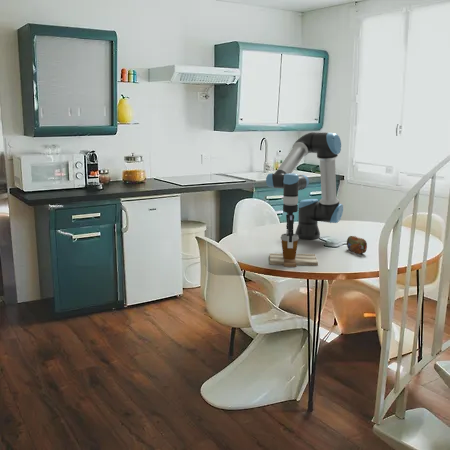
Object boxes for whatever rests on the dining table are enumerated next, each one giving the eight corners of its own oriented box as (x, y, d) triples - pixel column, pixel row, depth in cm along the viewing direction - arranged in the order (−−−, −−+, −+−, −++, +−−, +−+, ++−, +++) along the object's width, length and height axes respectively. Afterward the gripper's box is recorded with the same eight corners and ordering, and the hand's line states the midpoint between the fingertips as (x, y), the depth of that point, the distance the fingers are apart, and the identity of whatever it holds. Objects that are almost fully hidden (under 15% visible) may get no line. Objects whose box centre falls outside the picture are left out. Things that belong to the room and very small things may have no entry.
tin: (345, 249, 306) (346, 234, 304) (350, 248, 307) (351, 233, 305) (362, 255, 292) (363, 240, 290) (367, 255, 293) (368, 239, 291)
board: (269, 254, 295) (269, 251, 294) (314, 255, 293) (314, 252, 293) (270, 266, 273) (270, 263, 273) (318, 267, 272) (318, 264, 271)
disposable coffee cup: (296, 255, 288) (297, 233, 285) (299, 260, 279) (300, 237, 276) (279, 255, 288) (279, 233, 285) (281, 260, 278) (281, 237, 276)
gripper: (282, 199, 289) (281, 239, 294) (284, 208, 265) (283, 250, 270) (296, 199, 288) (295, 239, 293) (299, 208, 265) (298, 251, 269)
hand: (289, 244), depth 281 cm, fingers open, 12 cm apart
